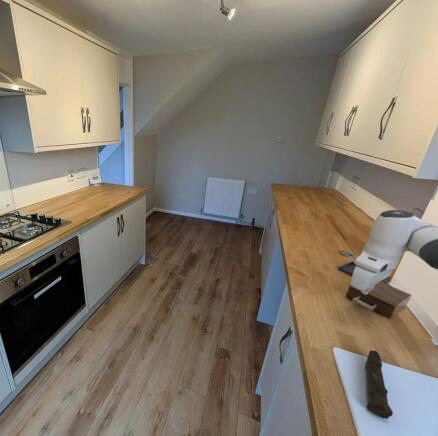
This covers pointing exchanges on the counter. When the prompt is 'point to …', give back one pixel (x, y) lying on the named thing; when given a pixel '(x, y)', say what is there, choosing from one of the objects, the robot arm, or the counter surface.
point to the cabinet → (389, 297)
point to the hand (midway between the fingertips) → (365, 292)
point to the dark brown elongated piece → (376, 387)
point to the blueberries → (348, 254)
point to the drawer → (369, 302)
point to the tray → (350, 268)
